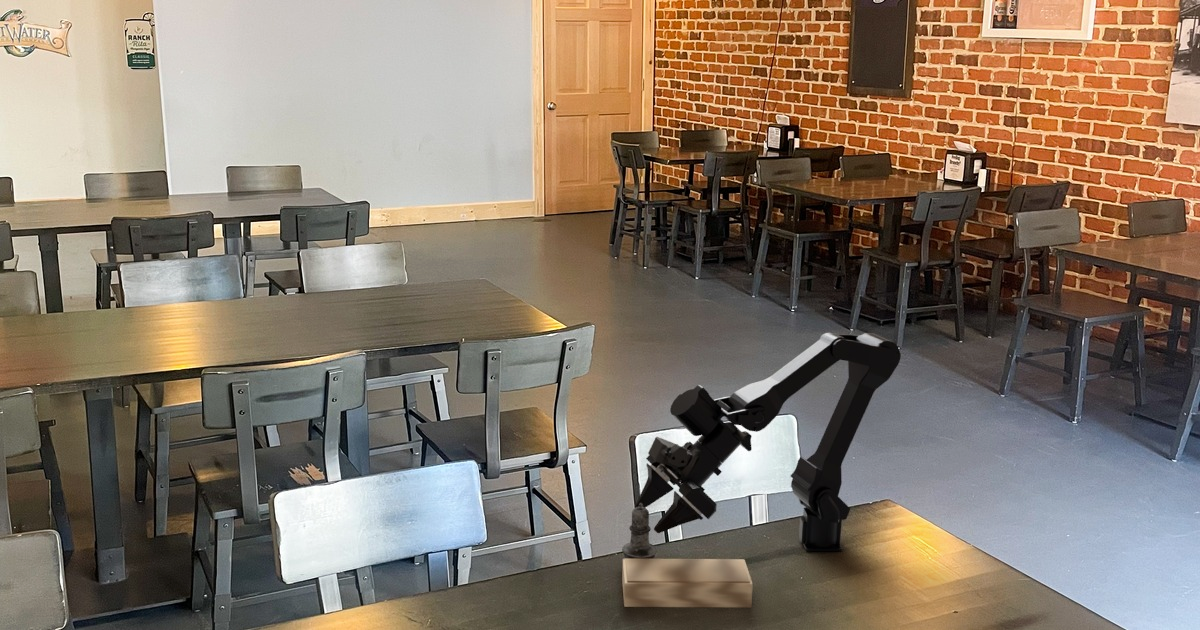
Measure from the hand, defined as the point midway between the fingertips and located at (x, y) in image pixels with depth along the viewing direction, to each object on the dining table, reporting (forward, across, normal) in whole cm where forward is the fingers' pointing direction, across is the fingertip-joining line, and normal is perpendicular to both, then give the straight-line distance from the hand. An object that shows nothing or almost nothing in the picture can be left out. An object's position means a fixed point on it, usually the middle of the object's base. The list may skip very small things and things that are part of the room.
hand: (645, 520), depth 179 cm
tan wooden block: (+4, +10, +8) cm, 14 cm away
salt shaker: (+7, 0, +6) cm, 9 cm away
